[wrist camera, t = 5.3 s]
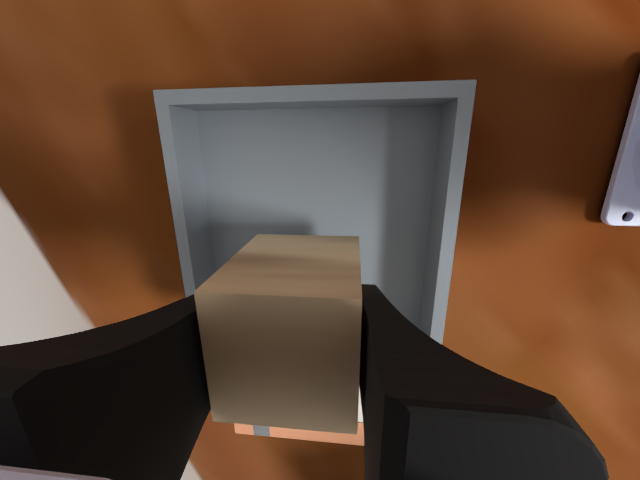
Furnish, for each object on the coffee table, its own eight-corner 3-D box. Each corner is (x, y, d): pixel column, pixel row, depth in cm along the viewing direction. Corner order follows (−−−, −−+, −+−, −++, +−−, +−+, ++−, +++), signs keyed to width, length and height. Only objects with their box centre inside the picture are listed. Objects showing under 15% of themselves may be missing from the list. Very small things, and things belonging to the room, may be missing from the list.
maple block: (356, 327, 13) (357, 434, 8) (264, 321, 13) (212, 421, 8) (359, 236, 11) (362, 299, 7) (257, 233, 12) (194, 291, 7)
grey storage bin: (438, 100, 14) (476, 79, 9) (416, 326, 17) (436, 386, 13) (211, 106, 15) (152, 89, 11) (234, 316, 19) (196, 368, 14)
